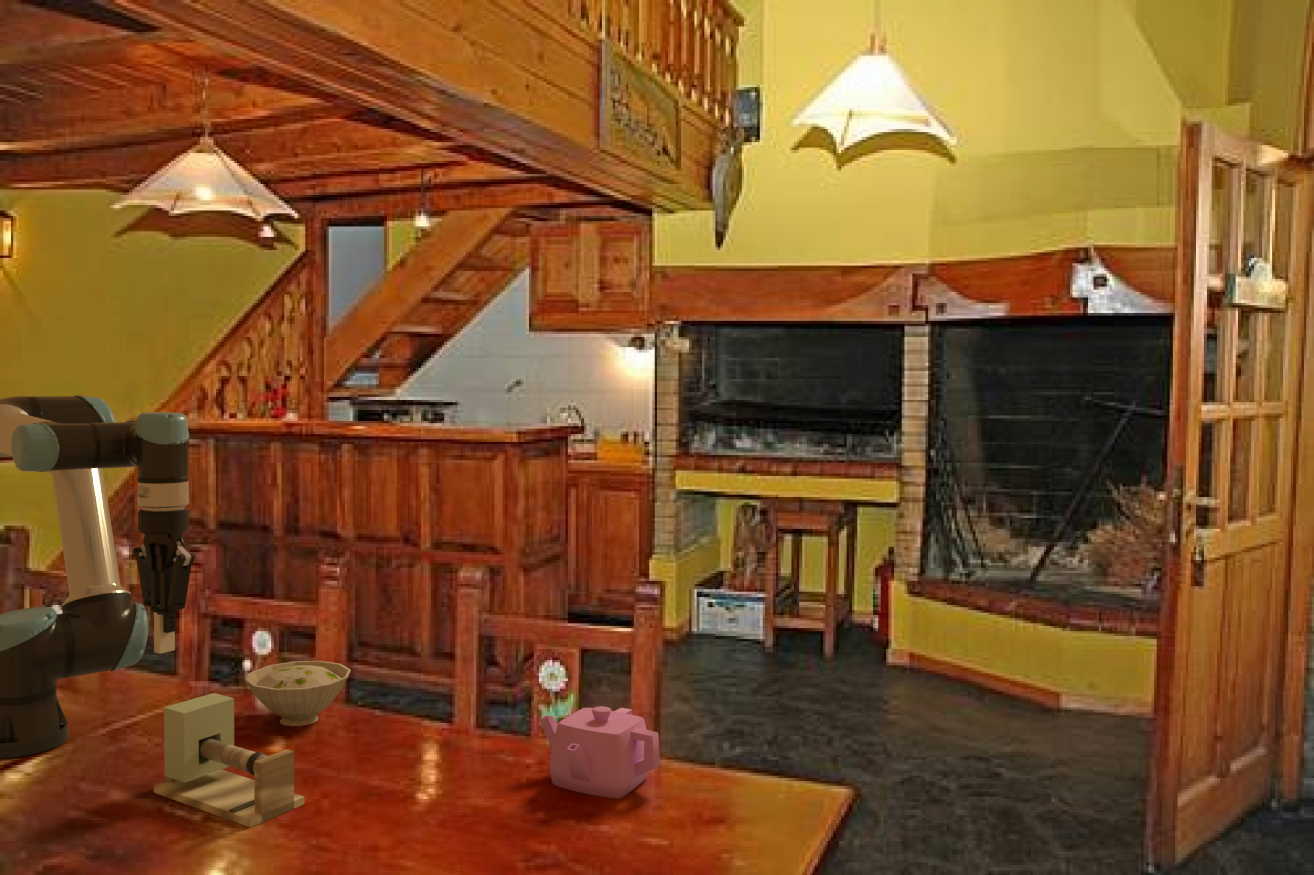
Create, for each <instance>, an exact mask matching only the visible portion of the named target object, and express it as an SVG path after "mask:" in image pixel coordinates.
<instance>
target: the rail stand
mask: <svg viewBox="0 0 1314 875" xmlns="http://www.w3.org/2000/svg"><path fill="white" fill-rule="evenodd" d="M199 756H200V757H203V758H206V759H209V760H212V761H216V762H219V763H222V764H225V765H228V766H229V767H232V768H235V769H238V770H240V771H244V772H247V773H248V774H249V775H252V776H253V778H254V779H252V778H249V777H246V776H243V775H239V774H238V773H237V774H236V773H234V772H230V771H228V770H225V769H221V770H218V771H215V772H213V773H210V774H207V775H204V776H202V777H199V778H196V779H193V780H191V781H188V782H185V783H184V782H181V781H178V780H175V779H172V778H169V777H167V776H165V775H164V780H165V781H161V782H159V783H156V784H154V785H153V793H155V794H157V795H159V796H162V797H165V798H168V799H170V800H173V801H176V802H179V803H180V804H181V803H182V804H185V805H187V806H190V807H192V808H195V809H198V810H201V811H204V812H206V813H209V814H212V815H215V816H217V817H220V818H223V819H226V820H228V821H231V822H234V823H236V824H239V825H242V826H245V827H248V828H253V827H255V826H257V825H260V824H262V823H264V822H267V821H269V820H271V819H273V818H276V817H278V816H280V815H283V814H286V813H287V812H289V811H293V810H294V809H296V808H299V807H301V806H304V805H305V796H303V795H301V794H298V793H295V751H293V750H291V749H284V750H282V751H278V752H276V753H273V754H271V755H268V754H266V753H264V752H261V751H253V750H249V749H247V748H243V747H241V746H240V747H239V746H236V745H234V746H233V745H230V744H227V743H224V742H220V741H217V740H214V739H211V738H204V739H201V740H199Z"/></svg>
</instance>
